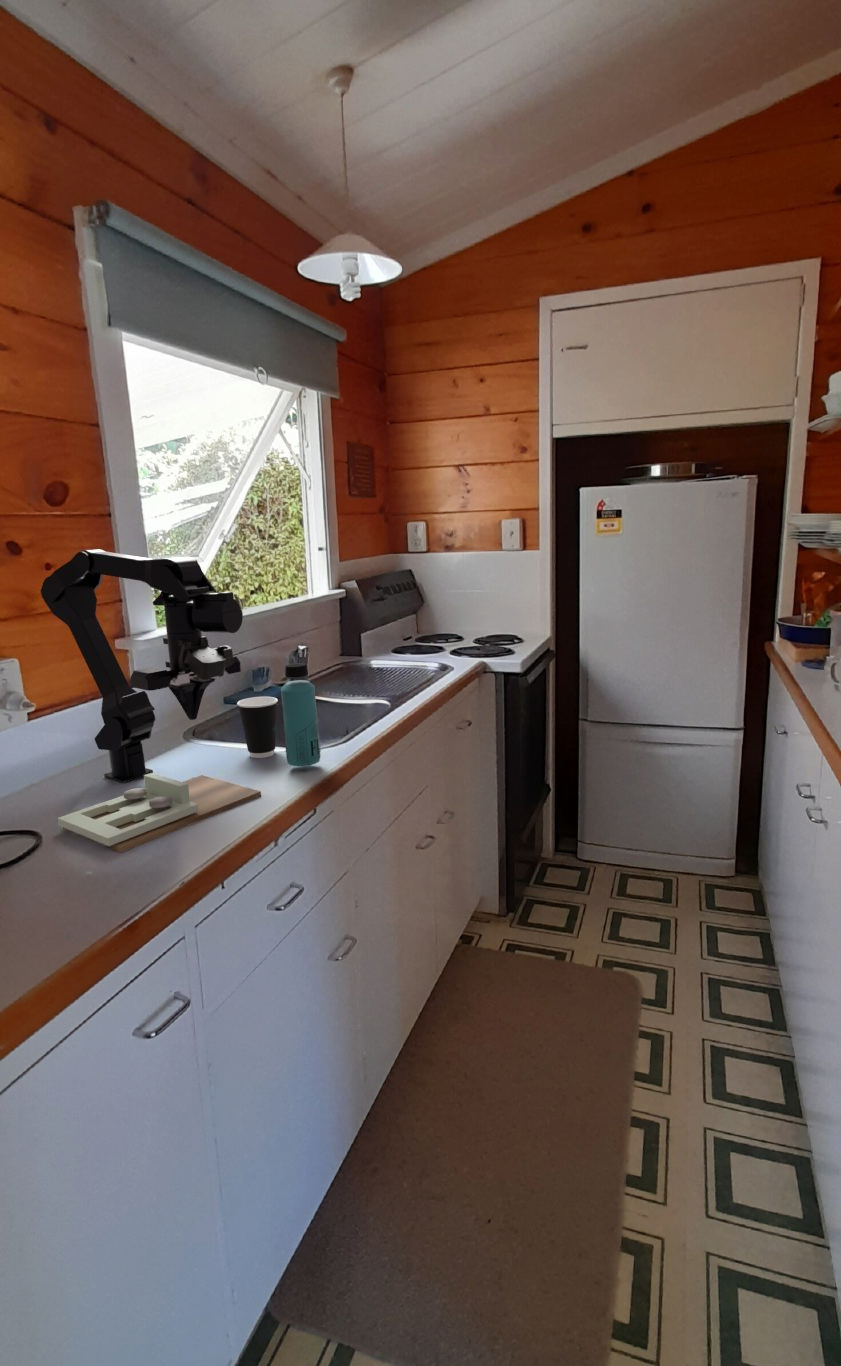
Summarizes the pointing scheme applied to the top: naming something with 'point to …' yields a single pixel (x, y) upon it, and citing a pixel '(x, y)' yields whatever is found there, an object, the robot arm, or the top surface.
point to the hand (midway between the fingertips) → (192, 719)
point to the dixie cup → (259, 725)
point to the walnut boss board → (202, 791)
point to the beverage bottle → (300, 718)
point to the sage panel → (132, 812)
